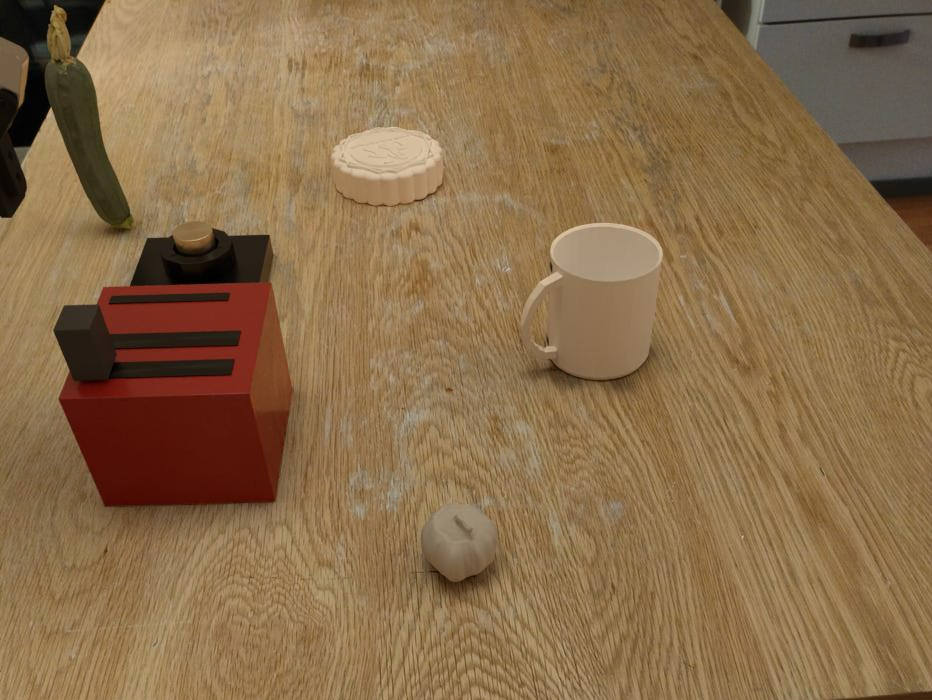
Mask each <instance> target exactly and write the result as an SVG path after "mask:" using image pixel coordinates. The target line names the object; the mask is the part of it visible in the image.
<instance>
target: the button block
mask: <svg viewBox="0 0 932 700" xmlns="http://www.w3.org/2000/svg"><path fill="white" fill-rule="evenodd" d="M212 230H213V235H214V239H215V243H216V249H215V250H213V251H212V252H211V253H209V254H206V255H203V256H199V257H185V256H181V255H179V254H178V252H177V249H176V245H175V242H174V238H173V234H171V235H170V236H168V237H167V236H166V237H165V236H164V237H147V238H146V240H145V242H144V246H143V249H142V251H141V253H140V256H139V259H138V262H137V264H136V267H135V270H134V273H133V276H132V279H131V280H130V283H129V286H154V285H190V284H226V283H262V282H269V280H270V274H271V269H272V265H273V260H274V255H275V254H274V251H273V249H274V248H273V245H272V239H271V234H244V235H243V234H242V235H241V234H240V235H239V234H237V235H228V233H227V232H225V231H224V230H221V229H217V228H214V227H212Z"/></svg>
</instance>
